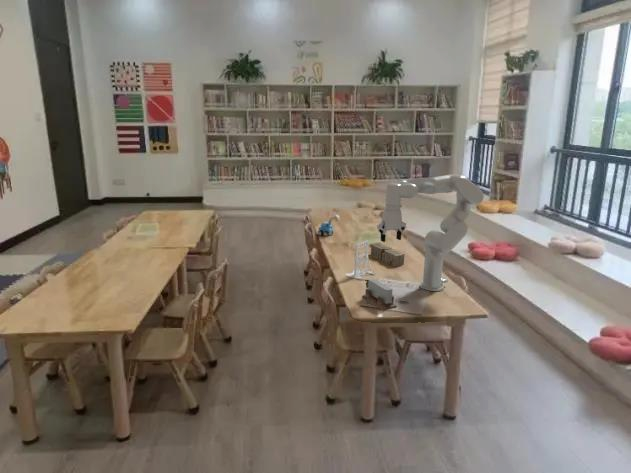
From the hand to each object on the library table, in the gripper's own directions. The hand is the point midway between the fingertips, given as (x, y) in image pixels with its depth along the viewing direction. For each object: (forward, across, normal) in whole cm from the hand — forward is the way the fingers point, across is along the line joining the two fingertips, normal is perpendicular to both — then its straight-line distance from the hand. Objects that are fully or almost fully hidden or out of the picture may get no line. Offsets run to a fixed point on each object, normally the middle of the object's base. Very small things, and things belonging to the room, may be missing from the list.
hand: (390, 240), depth 237 cm
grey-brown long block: (+29, -32, -48) cm, 64 cm away
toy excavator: (+29, -25, -117) cm, 123 cm away
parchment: (+29, +2, -7) cm, 30 cm away
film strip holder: (+29, 0, -29) cm, 41 cm away
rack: (+28, +12, +10) cm, 32 cm away
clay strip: (+26, +12, +10) cm, 30 cm away
